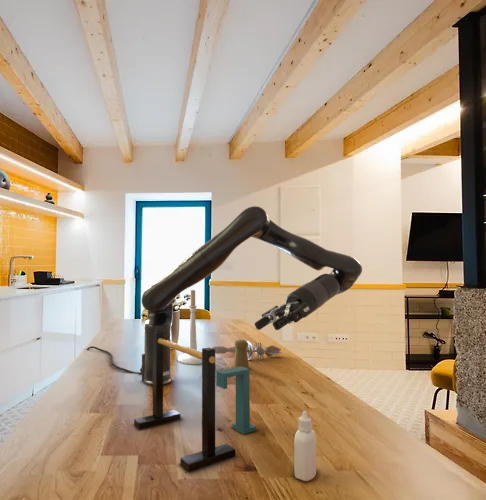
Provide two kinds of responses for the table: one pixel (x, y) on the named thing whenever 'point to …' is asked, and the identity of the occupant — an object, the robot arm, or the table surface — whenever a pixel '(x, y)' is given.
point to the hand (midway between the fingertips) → (265, 326)
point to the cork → (241, 354)
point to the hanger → (239, 396)
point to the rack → (209, 450)
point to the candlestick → (191, 336)
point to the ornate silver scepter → (250, 350)
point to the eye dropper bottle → (305, 449)
